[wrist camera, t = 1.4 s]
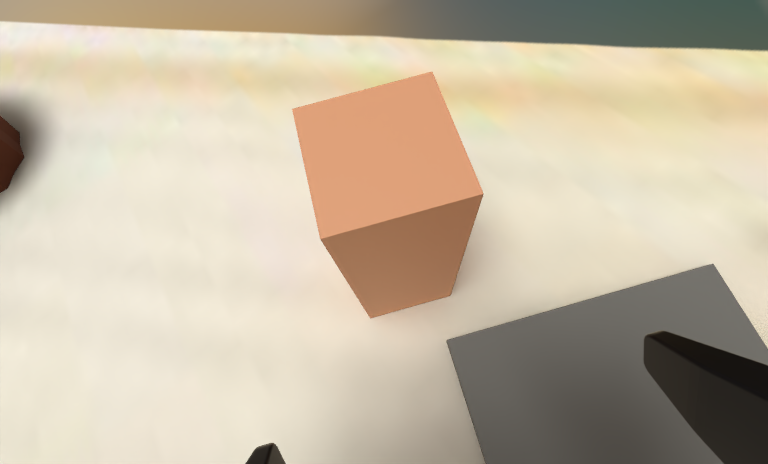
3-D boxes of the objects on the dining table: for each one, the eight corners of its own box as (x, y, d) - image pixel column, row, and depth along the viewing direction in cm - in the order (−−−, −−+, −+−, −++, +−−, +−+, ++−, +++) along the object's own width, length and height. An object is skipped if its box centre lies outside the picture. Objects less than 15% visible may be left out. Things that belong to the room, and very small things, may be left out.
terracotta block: (450, 295, 24) (483, 193, 12) (370, 318, 23) (320, 238, 11) (425, 223, 25) (432, 71, 13) (351, 243, 25) (292, 109, 13)
